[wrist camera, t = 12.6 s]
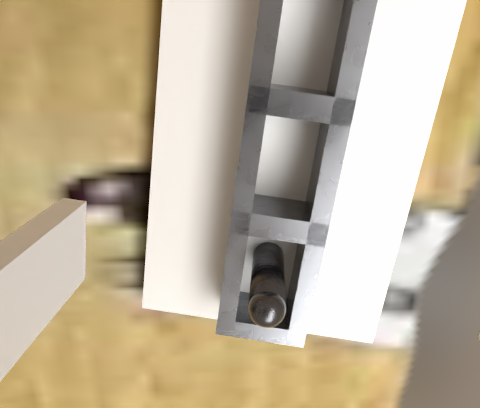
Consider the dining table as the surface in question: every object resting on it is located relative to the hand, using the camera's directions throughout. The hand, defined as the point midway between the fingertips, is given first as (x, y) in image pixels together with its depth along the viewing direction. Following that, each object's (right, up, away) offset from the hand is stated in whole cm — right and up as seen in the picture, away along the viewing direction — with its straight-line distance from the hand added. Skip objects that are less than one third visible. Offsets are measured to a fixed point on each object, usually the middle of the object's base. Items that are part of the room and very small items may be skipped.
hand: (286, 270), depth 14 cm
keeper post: (+1, -2, +18) cm, 18 cm away
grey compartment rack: (+2, +5, +16) cm, 17 cm away
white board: (+2, +6, +17) cm, 19 cm away
